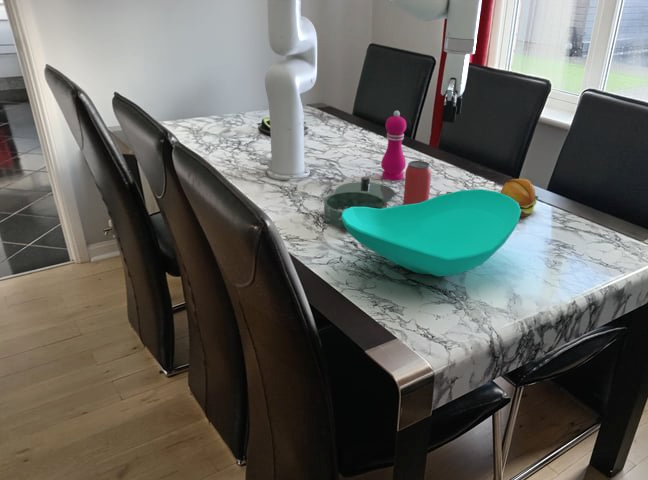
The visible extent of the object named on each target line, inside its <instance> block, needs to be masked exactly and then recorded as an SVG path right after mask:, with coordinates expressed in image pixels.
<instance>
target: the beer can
mask: <svg viewBox="0 0 648 480" xmlns="http://www.w3.org/2000/svg"><path fill="white" fill-rule="evenodd" d="M407 164H408V165H407V167H406V168H405V174H404V190H403V202H402V205H408V204H416V203H421V202H424V201H426V200H429V199H430V190H431V179H432V170H431V167H430V166H431V163H429V162H427V161H424V160H411V161H409V162H408V163H407Z"/></svg>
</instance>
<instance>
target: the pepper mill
mask: <svg viewBox="0 0 648 480" xmlns="http://www.w3.org/2000/svg"><path fill="white" fill-rule="evenodd" d="M400 115H401V112H400V111H399V110H394V112H393V115H392V116H390V117H388V118H387V120H386V121H385V129H386V131H387V132H386V139H387V148H386V151H385V153H384V155H383V156H382V158H381V164H380V165H381V168H382V170H383V171H382V175H381V177H382V178H383V179H384V180H388V181H402V180H403V179H404V170H406V168H407V167H406V164H407V163H406V158H405V155H404V153H403V149H402V147H403V145H402V144H403V140H404V139H405V137H404V136H405V133H404V132H405V131H406V130H407V121H406V119H405V118H403V117H402V116H400Z"/></svg>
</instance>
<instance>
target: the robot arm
mask: <svg viewBox="0 0 648 480" xmlns="http://www.w3.org/2000/svg"><path fill="white" fill-rule="evenodd" d="M387 1H388V2H389V3H391V4H392V5H394V6H395V7H397V8H398V9H400V10H402V11H403V12H405V14H408V15H410V16H411V17H413V18H414V19H416V20H419V21H422V22H432V21H436V20H445V19H446V28H445V37H444V45H443V52H445V53H446V58H445V61H444V62H445V63H444V69H443V74H442V83H441V88H440V89H441V90H440V95H441V96H444V95H445V98H444V101H443V107H442V115H441V121H442V122H443V123H444V122H445V123H452V124H453V123H454V124H455V122H456V117H457V116H456V115H461V111H462V104H463V93H464V92H465V89H466V84H467V79H468V72H469V63H470V57H471V56H470V55H475V54H476V46H477V39H478V32H479V26H480V25H479V24H480V18H481V17H480V16H481V10H482V3H483V0H387ZM301 7H302V0H267V34H268V35H267V36H268V37H267V39H268V44H269V47H270V49H271V51H273V52H274V54H276V55H279V56H282V57H283V56H285V59H284V60H280V61H277V62H274V63H272V64H271V66H270V67H268V69H267V70H266V73H265V76H264V87H265V92H266V97H267V101H268V102H267V103H268V111H269V113H268V114H269V120H270V133H271V137H270V154H271V156H270V157H267V156H259V164H260V166H267V167H268V168H267V169H266V175H267V176H268V177H269V178H271V179H274V180H278V181H291V180H299V179H304V178H306V177H308V176H309V175H310V174H311V171H310V168H308V167H307V166H305V134H304V126H305V124H304V122H305V119H304V117H305V116H304V115H305V114H304V107H303V103H302V100H301V95H302V94H304V93H306V92H308V91H310V90H311V89H312V88H313V87H314V86H315V84H316V82H317V76H318V36H317V30H316V28H315V25H314V24H313V22H312V21H311V20H310V19H309V18H307V17H306V16H304V15H302V11H301Z"/></svg>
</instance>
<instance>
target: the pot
mask: <svg viewBox="0 0 648 480" xmlns="http://www.w3.org/2000/svg"><path fill="white" fill-rule="evenodd" d="M350 207H370V208H376V209H384V208H388V202H386V201H385V199H383V198H381V197H380V196H378V195H375V194H371V192H368V191H361V192H359V191H346V192H339V193H335V192H334V193H331V194H329V195H327V196H326V197H325V198H324V199H323V220H324V221H325V222H326V223H328V224H329V225H330V226H333V227H336V228H338V229H344V230H347V229H346V228H345V226H344V224H343V221H342V218H341V216H342V212H343V211H341V210H338V209H340V208H350Z"/></svg>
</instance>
